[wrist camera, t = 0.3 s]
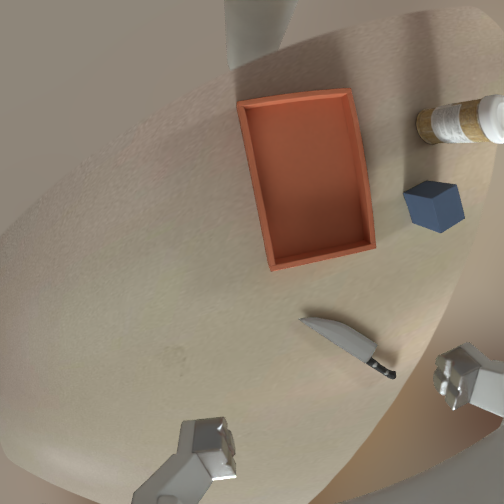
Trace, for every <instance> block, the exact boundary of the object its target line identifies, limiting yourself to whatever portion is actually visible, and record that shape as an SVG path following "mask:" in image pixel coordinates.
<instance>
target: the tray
mask: <svg viewBox="0 0 504 504" xmlns="http://www.w3.org/2000/svg"><path fill="white" fill-rule="evenodd" d="M237 112H238V117H239V122H240V126H241V131H242V136H243V141H244V146H245V151H246V155H247V160H248V165H249V170H250V175H251V180H252V185H253V190H254V195H255V200H256V205H257V210H258V215H259V220H260V225H261V230H262V235H263V240H264V245H265V250H266V255H267V261H268V265H269V268H270V270H271V272H272V271H276V270H281V269H286V268H290V267H295V266H300V265H304V264H309V263H313V262H318V261H322V260H327V259H331V258H336V257H340V256H345V255H349V254H354V253H358V252H362V251H367V250H371V249H375V248H376V241H375V230H374V220H373V211H372V203H371V195H370V187H369V180H368V173H367V167H366V161H365V155H364V149H363V143H362V138H361V133H360V128H359V123H358V118H357V113H356V108H355V104H354V99H353V95H352V91H351V88H339V89H326V90H315V91H305V92H296V93H288V94H281V95H274V96H267V97H260V98H254V99H249V100H243V101H238V102H237Z"/></svg>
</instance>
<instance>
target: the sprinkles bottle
mask: <svg viewBox="0 0 504 504" xmlns="http://www.w3.org/2000/svg"><path fill="white" fill-rule="evenodd" d="M416 125H417V131H418V133H419V135H420V136H421V138H422V139H423V140H424V141H425V142H427V143H429V144H438V143H475V142H494V143H504V96H502V95H499V94H496V95H489V96H485V97H484V98H482V99H478V100H472V101H466V102H460V103H452V104H448V105H443V106H439V107H437V108H432V109H424V110H422V111H421V112H420V113H419V115H418V117H417V122H416Z"/></svg>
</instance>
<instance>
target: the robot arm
mask: <svg viewBox="0 0 504 504" xmlns="http://www.w3.org/2000/svg"><path fill="white" fill-rule="evenodd" d="M435 364H436V365H437V366H438V367H437V369H436V371H435V372H434V376H433V381H434V386H435V388H436V390H437V391H438V392H439V394H442V395H445V401H446V402H447V404H448V405H449V406H450V407H451V408H452V410H455V409H457V408H459V407H461V406H463V405H465V404H467V403H469V402H470V403H471V404H473V405H475V406H478V407H480V408H483V409H485V410H487V411H490V412H492V413H494V414H497V415H499V416H502V417H504V362H502V361H498V360H492V361H491V360H490V359H488V358H487V357H486V356H485V355H484V354H483V353H482V352H480V351H479V350H478V349H477V348H476V347H474V346H473V345H472V344H471V343H470V342H466V343H464V344H462V345H460V346H458V347H456V348H453V349H452V350H449V351H447V352H445V353H443V354H441V355H438V357H437V358H436V363H435ZM234 455H235V444H234V439H233V436H232V433H231V431H230V430H228V429H227V421H226V419H225V417H216V418H207V419H197V420H187V421H183V422H182V424H181V429H180V435H179V442H178V448H177V454H173V455H172V456H171V457H170V458H169V459H168V460H167V461H166V462H165V463H164V464H163V465H162V466H161V467H160V468H159V469H158V470H157V471H156V472H155V473H154V474H153V475H152V476H151V477H150V478H149V479H148V480H147V481H145V482H144V483H143V484H142V485H141V486H140V487H139V488H138V489H137V490H136V491H135V492H134V493H133V498H132V502H131V504H198V503H199V501H200V500H201V498H202V497H203V496H204V494H205V493H206V491H207V490H208V488H209V487H210V485H211V484H212V482H213V480H217V479H226V478H233V477H236V463H235V460H234V458H233V456H234ZM337 504H504V418H503V421H502V423H501V425H500V427H499V428H498V429H497V430H495V431H494V432H492V433H491V434H489V435H488V436H486V437H485V438H483V439H481V440H480V441H478V442H477V443H475V444H473V445H472V446H470V447H468V448H467V449H465V450H463V451H461V452H460V453H458V454H456V455H454V456H453V457H451V458H449V459H447V460H445V461H443V462H441V463H439V464H437V465H435V466H433V467H431V468H429V469H427V470H425V471H423V472H421V473H419V474H416V475H414V476H412V477H410V478H407V479H405V480H403V481H400V482H398V483H395V484H393V485H390V486H388V487H385V488H382V489H380V490H377V491H374V492H372V493H368V494H366V495H363V496H360V497H356V498H353V499H350V500H347V501H343V502H340V503H337Z"/></svg>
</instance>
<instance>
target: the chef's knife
mask: <svg viewBox="0 0 504 504" xmlns="http://www.w3.org/2000/svg"><path fill="white" fill-rule="evenodd" d="M299 320H300V321H302V322H303V323H305V324H306V325H308V326H309V327H311V328H312V329H313V330H315V331H316V332H318V333H319V334H321V335H322V336H324V337H325V338H327V339H328V340H330V341H331V342H333V343H334V344H336V345H338V346H339V347H341V348H342V349H344V350H345V351H347V352H348V353H350V354H351V355H353V356H355V357H356V358H358V359H359V360H361V361H362V362H364V363H366V364H368V365H369V366H371V367H372V368H374V369H376V370H377V371H379V372H380V373H382V374H383V375H385V376H387V377H388V378H390V379H395V378H396V372H395V371H391V370H388V369H386V368H385V367H383V366H382V365H380V364H379V363H378V362H377V361H376V360H374V359H373V358H372V355H373V353H374V351H375V349H376V347H377V344H376V343H374V342H373V341H371V340H370V339H368V338H366V337H365V336H363V335H362V334H360V333H359V332H357V331H355V330H354V329H352V328H351V327H349V326H347V325H345V324H343V323H341V322H338V321H333V320H327V319H322V318H316V317H310V318H301V319H299Z"/></svg>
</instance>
